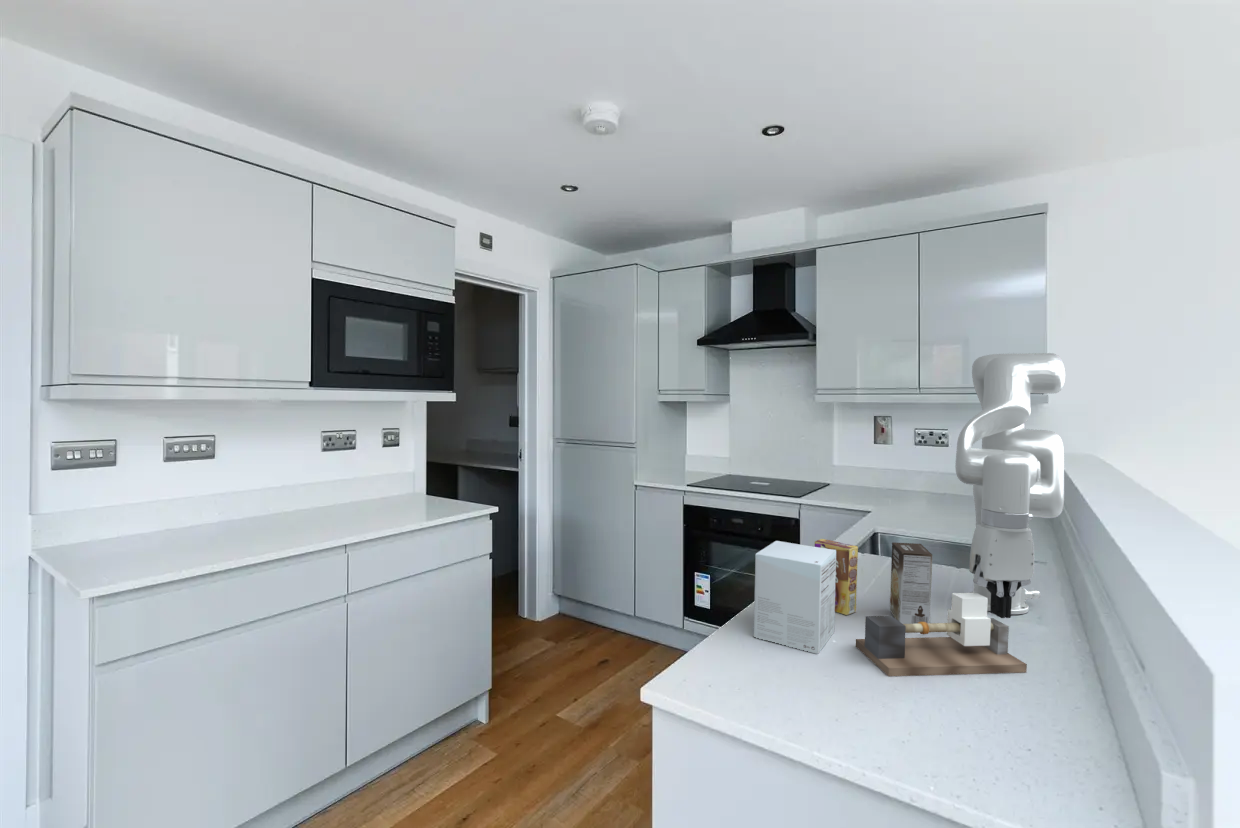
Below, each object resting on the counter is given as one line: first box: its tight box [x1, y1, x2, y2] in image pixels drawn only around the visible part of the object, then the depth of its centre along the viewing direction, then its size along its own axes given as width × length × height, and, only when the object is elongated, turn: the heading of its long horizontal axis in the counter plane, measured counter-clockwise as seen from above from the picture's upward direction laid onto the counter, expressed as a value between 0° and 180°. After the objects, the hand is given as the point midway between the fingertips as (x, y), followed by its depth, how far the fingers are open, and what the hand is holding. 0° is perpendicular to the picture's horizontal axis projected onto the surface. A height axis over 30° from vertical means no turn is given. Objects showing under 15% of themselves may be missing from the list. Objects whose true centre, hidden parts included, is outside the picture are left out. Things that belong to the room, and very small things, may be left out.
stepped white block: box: [946, 592, 991, 646], centre depth 110 cm, size 5×5×8 cm
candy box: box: [814, 538, 859, 616], centre depth 135 cm, size 9×4×15 cm, turn 39°
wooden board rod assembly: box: [855, 614, 1028, 677], centre depth 110 cm, size 26×12×8 cm, turn 95°
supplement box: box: [752, 540, 836, 655], centre depth 119 cm, size 13×13×18 cm
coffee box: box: [889, 542, 934, 624], centre depth 129 cm, size 9×6×16 cm
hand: (1000, 615), depth 111 cm, fingers closed
